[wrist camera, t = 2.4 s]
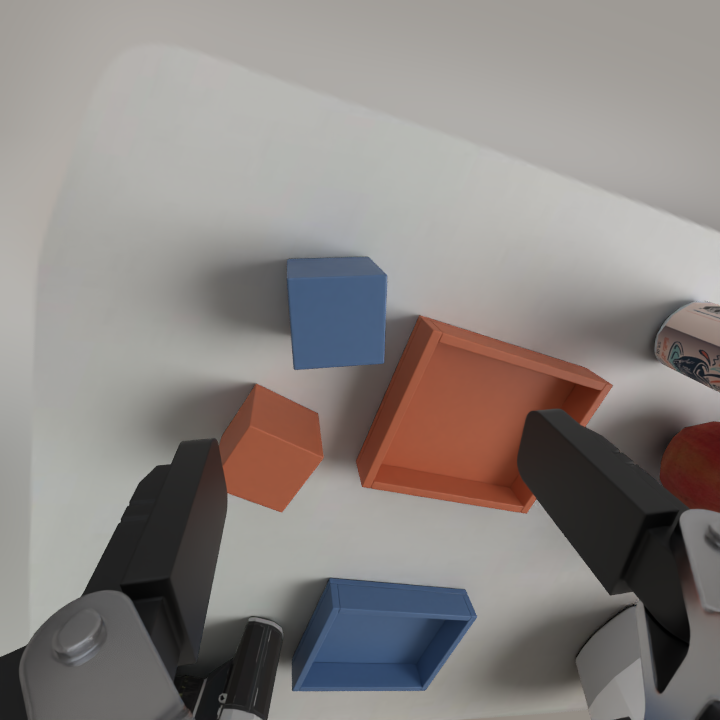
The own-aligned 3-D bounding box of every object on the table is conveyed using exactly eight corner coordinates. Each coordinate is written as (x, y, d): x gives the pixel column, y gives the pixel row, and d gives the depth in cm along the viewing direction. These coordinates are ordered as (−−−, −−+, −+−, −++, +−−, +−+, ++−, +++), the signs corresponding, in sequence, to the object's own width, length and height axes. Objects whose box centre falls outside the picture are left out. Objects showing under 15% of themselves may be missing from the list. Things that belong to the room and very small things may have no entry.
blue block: (292, 336, 22) (293, 370, 18) (287, 258, 20) (286, 278, 16) (368, 332, 23) (384, 364, 19) (369, 256, 21) (387, 274, 17)
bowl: (629, 684, 50) (697, 786, 42) (528, 676, 45) (584, 791, 36) (729, 597, 45) (831, 695, 36) (628, 575, 39) (722, 684, 30)
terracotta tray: (355, 461, 27) (361, 487, 24) (419, 314, 23) (433, 329, 21) (509, 489, 31) (526, 514, 28) (586, 368, 27) (613, 385, 24)
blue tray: (291, 659, 35) (291, 691, 33) (329, 577, 31) (332, 608, 29) (417, 661, 39) (425, 690, 37) (465, 589, 35) (477, 617, 33)
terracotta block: (221, 436, 24) (208, 486, 20) (256, 382, 23) (249, 425, 19) (283, 462, 26) (282, 513, 22) (318, 413, 25) (324, 458, 21)
